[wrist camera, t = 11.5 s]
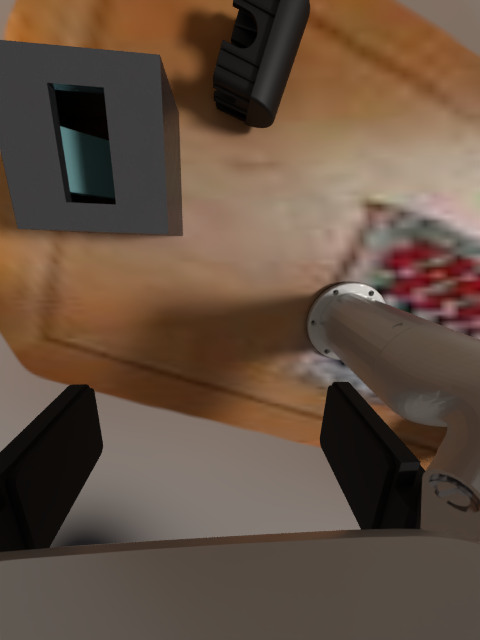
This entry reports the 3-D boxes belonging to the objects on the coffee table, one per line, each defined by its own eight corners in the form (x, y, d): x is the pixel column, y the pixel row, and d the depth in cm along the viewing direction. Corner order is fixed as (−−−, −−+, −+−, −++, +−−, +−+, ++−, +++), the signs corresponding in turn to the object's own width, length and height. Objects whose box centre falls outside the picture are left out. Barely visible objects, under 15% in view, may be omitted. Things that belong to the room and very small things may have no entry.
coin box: (178, 112, 30) (159, 54, 21) (182, 235, 34) (168, 234, 25) (55, 103, 29) (-25, 37, 20) (75, 231, 33) (17, 228, 24)
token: (120, 198, 31) (115, 142, 29) (64, 190, 27) (53, 124, 25) (113, 199, 33) (108, 145, 31) (58, 192, 28) (48, 129, 26)
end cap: (266, 137, 32) (278, 111, 25) (213, 112, 31) (211, 78, 24) (298, 42, 29) (320, -13, 23) (240, 11, 28) (247, -57, 22)
